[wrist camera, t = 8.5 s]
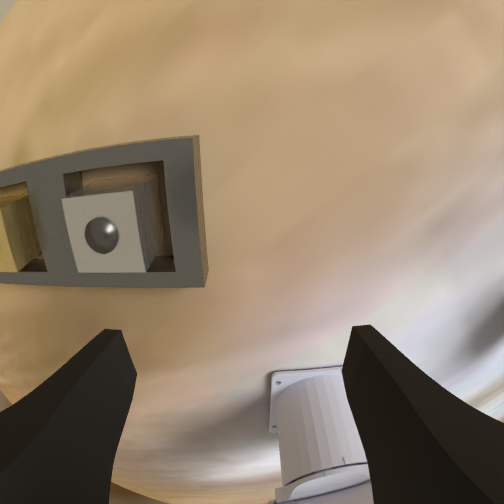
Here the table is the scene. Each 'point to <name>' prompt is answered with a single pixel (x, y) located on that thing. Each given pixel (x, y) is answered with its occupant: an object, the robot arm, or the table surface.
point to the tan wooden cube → (17, 233)
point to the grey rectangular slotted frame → (69, 180)
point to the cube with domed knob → (115, 224)
